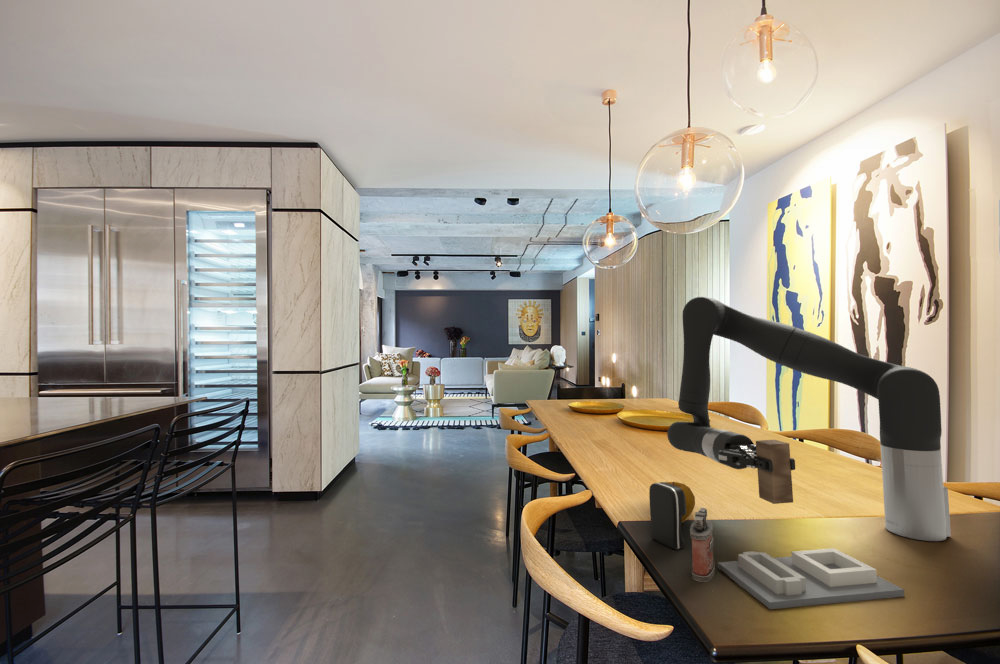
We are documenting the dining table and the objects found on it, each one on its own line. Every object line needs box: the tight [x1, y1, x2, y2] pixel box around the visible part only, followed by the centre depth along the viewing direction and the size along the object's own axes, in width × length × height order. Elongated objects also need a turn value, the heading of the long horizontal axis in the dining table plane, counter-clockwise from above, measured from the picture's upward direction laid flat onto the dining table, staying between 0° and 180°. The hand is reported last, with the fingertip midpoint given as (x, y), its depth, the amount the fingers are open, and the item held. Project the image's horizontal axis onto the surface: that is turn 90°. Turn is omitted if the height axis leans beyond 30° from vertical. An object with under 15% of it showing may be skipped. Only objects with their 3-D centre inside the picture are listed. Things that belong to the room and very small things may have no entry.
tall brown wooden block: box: [755, 439, 794, 505], centre depth 89 cm, size 4×4×11 cm
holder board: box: [717, 547, 905, 610], centre depth 75 cm, size 22×13×3 cm, turn 97°
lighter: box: [689, 507, 716, 583], centre depth 80 cm, size 8×3×10 cm, turn 148°
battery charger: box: [648, 481, 686, 550], centre depth 92 cm, size 7×4×11 cm, turn 24°
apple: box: [664, 481, 696, 524], centre depth 102 cm, size 9×9×9 cm
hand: (782, 465), depth 87 cm, fingers closed on tall brown wooden block, 4 cm apart
